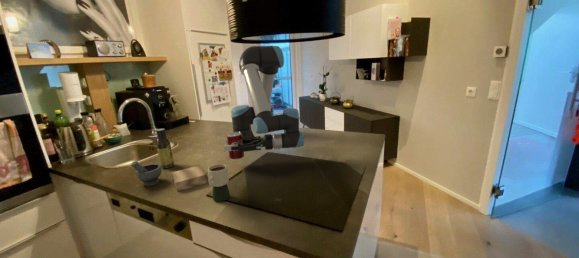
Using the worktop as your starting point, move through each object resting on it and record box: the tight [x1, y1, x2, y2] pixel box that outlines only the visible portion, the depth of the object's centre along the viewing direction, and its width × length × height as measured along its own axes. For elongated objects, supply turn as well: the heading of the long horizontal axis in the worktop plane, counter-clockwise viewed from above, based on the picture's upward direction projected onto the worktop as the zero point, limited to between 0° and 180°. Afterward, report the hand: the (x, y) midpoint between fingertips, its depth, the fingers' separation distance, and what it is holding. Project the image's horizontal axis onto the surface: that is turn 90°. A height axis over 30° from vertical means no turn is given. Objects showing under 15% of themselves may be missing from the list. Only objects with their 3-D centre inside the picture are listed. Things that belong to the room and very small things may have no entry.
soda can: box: [226, 131, 245, 161], centre depth 115 cm, size 7×7×12 cm
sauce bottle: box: [155, 128, 175, 169], centre depth 121 cm, size 6×6×20 cm
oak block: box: [171, 165, 208, 192], centre depth 105 cm, size 12×12×4 cm
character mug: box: [207, 163, 231, 202], centre depth 90 cm, size 11×7×13 cm, turn 161°
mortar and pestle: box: [130, 160, 162, 187], centre depth 105 cm, size 11×9×12 cm
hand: (225, 145), depth 115 cm, fingers closed on soda can, 7 cm apart
